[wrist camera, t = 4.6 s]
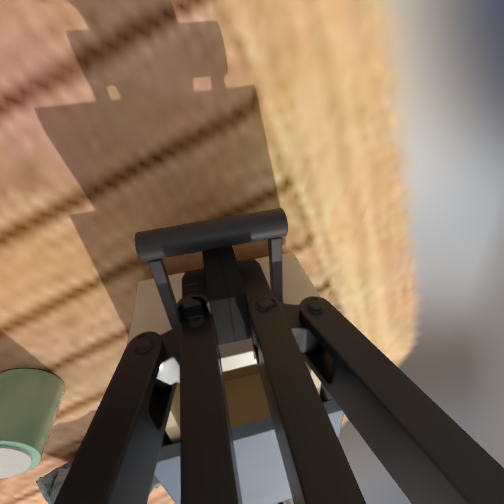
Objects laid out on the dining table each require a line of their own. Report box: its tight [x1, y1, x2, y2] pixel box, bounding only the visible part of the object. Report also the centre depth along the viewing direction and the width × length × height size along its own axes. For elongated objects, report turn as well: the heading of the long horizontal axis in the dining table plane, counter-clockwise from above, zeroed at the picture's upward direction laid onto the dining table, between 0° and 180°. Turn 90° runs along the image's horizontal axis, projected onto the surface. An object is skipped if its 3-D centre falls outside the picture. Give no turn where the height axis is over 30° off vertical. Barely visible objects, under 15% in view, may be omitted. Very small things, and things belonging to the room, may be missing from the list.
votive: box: [0, 369, 65, 479], centre depth 22 cm, size 6×6×6 cm
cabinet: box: [154, 383, 344, 504], centre depth 25 cm, size 15×13×10 cm
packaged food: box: [36, 461, 161, 504], centre depth 31 cm, size 9×12×5 cm
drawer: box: [127, 208, 321, 444], centre depth 19 cm, size 20×11×8 cm, turn 5°
